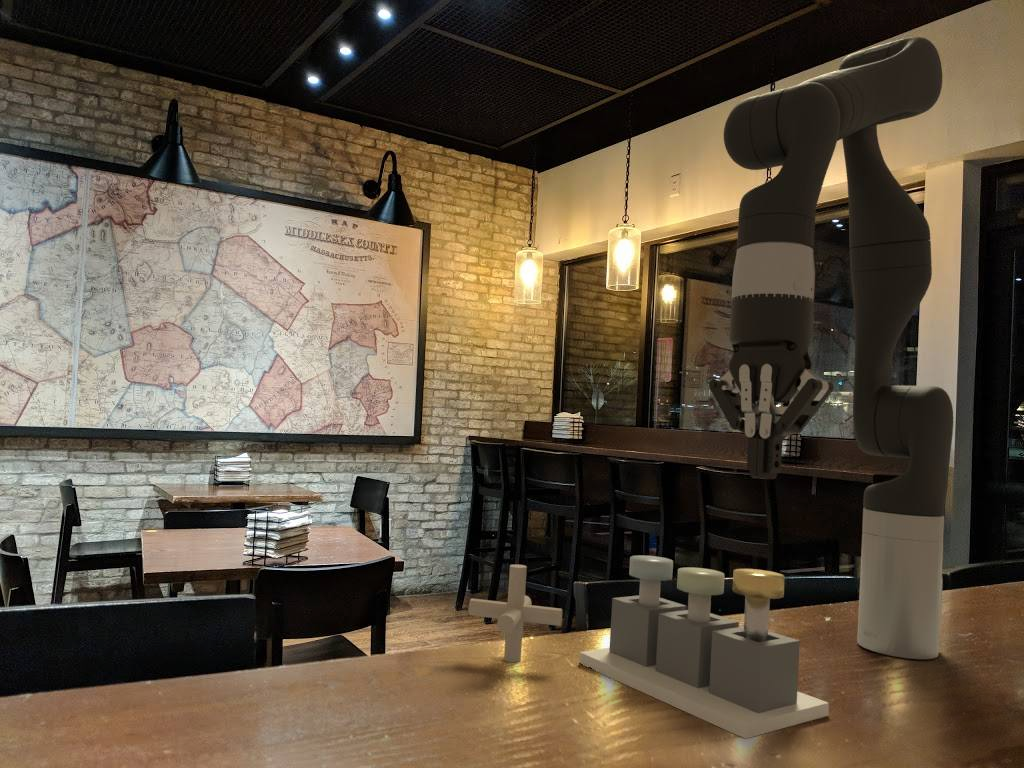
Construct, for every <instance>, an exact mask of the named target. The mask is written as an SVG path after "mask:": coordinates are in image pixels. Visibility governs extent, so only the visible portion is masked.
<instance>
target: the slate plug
mask: <svg viewBox="0 0 1024 768" xmlns="http://www.w3.org/2000/svg"><path fill="white" fill-rule="evenodd" d="M673 569H674V560H672V559H670V558H667V557H662V556H661V557H660V556H655V555H640V554H639V555H632V556H630V557H629V571H628V572H629V573H628V574H629V576H630V577H633V578H636V579H639V593H638V594H639V603H640V604H643V605H646V606H649V607H650V606H659V602H660V598H661V597H660V596H661V582H662V581H671V580H672V579H673Z"/></svg>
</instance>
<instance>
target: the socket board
mask: <svg viewBox="0 0 1024 768" xmlns="http://www.w3.org/2000/svg"><path fill="white" fill-rule="evenodd" d="M610 617H611V618H610V633H609V634H610V635H609V647H605V648H599V649H593V650H592V649H591V650H586V651H579V658H578V659H579V660H578V663H579V662H580V663H582V664H584V665H586V666H588V667H591V668H592V669H594V670H593V671H595V670H597V671H598V672H597V671H596V672H597V673H599V672H600V673H599V674H601V673H602V674H601V675H603V674H604V676H606V677H609V678H610V679H613V680H614V679H615V681H617V682H619V683H621V684H624V685H626V686H628V687H631V688H632V689H635V690H637V691H639V692H641V693H643V694H646V695H648V696H650V697H653V698H655V699H657V700H658V701H661V702H664V703H665V704H668V705H670V706H672V707H675V708H677V709H679V710H681V711H684V712H685V713H688V714H689V715H692V716H694V717H696V718H699V719H701V720H703V721H706V722H707V723H710V724H712V725H715V726H716V727H718V728H721V729H722V730H725V731H727V732H729V733H731V734H734V735H736V736H738V737H740V738H742V739H744V740H745V739H749V738H752V737H756V736H759V735H760V736H761V735H763V734H767V733H771V732H775V731H778V730H782V729H784V728H789V727H792V726H796V725H799V724H803V723H808V722H811V721H814V720H817V719H822V718H825V717H828V716H829V703H830V702H827V701H826V700H822V699H820V698H816V697H814V696H811V695H808V694H806V693H803V692H801V691H798V685H799V665H800V662H799V661H800V646H801V645H800V643H801V641H800V640H799V639H796V638H792V637H789V636H786V635H782V634H779V633H776V632H773V631H770V630H768V641H764V642H756V641H753V640H750V639H747V638H744V637H743V634H744V626H740V621H737V620H735V619H732V618H727V617H726V616H725V617H724V616H721V615H718V614H714V613H711V612H710V622H705V623H698V622H695V621H692V620H689V619H687V617H688V609H687V605H685V604H682V603H679V602H675V601H672V600H668V599H665V598H663V597H660V602H659V606H650V607H649V606H646V605H643V604H640V603H639V595H632V596H620V597H612V599H611V616H610ZM584 665H583V666H584ZM586 666H585V667H586ZM588 667H587V668H588ZM592 669H591V670H592Z"/></svg>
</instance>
